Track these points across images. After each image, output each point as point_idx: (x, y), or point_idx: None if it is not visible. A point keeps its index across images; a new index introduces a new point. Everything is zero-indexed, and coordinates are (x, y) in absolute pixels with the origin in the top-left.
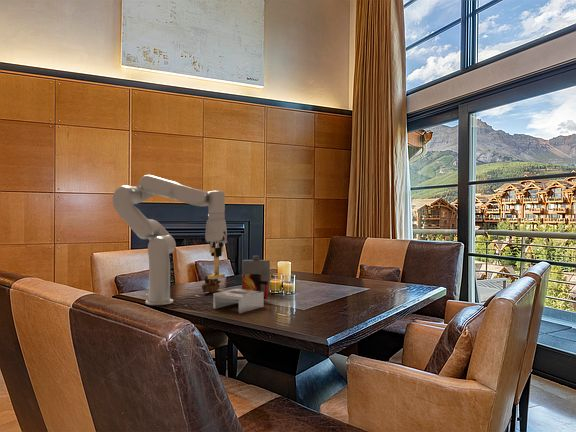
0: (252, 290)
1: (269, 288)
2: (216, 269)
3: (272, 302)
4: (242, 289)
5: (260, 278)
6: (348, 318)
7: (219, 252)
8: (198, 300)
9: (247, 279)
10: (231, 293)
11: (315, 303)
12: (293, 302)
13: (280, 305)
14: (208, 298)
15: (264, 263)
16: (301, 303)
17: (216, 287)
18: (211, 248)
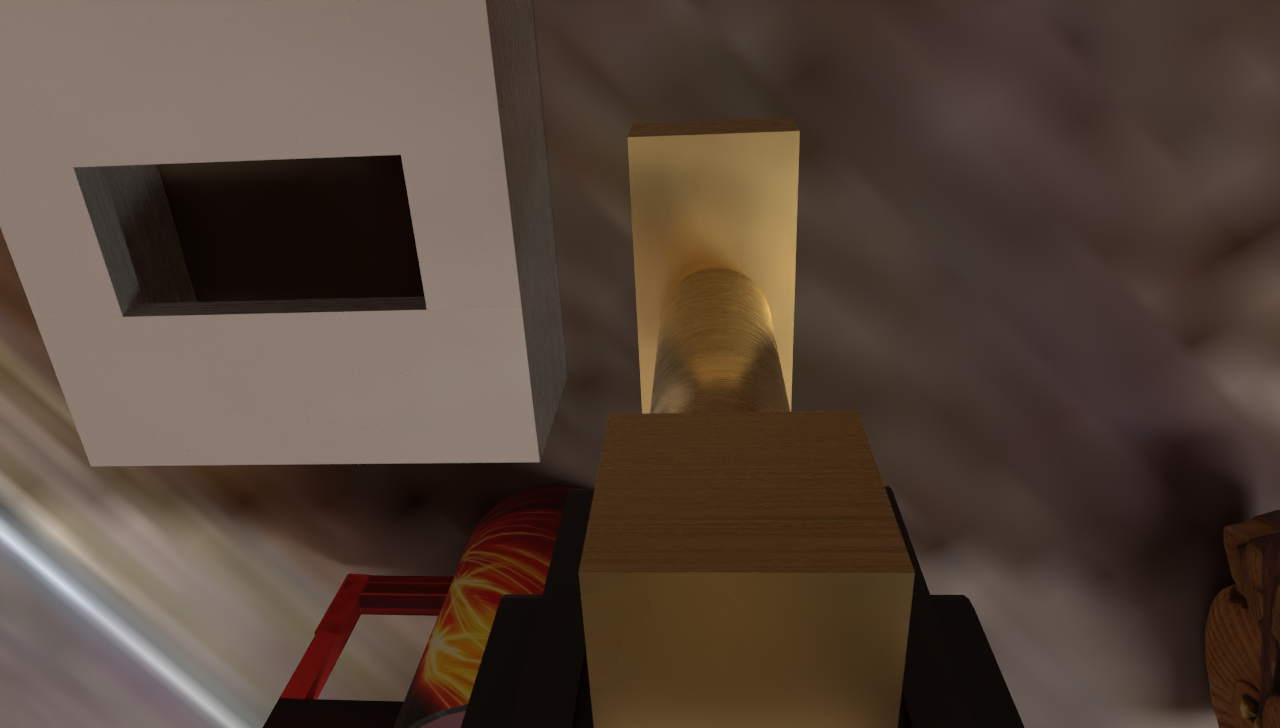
0: (457, 589)
1: None
2: (672, 334)
3: (299, 573)
4: (424, 450)
5: None
6: None
7: (489, 650)
8: (1067, 190)
9: (477, 669)
10: (270, 124)
11: (17, 721)
12: (168, 665)
13: (135, 514)
14: (1030, 355)
15: None
16: (89, 668)
17: (1228, 708)
18: (717, 545)
